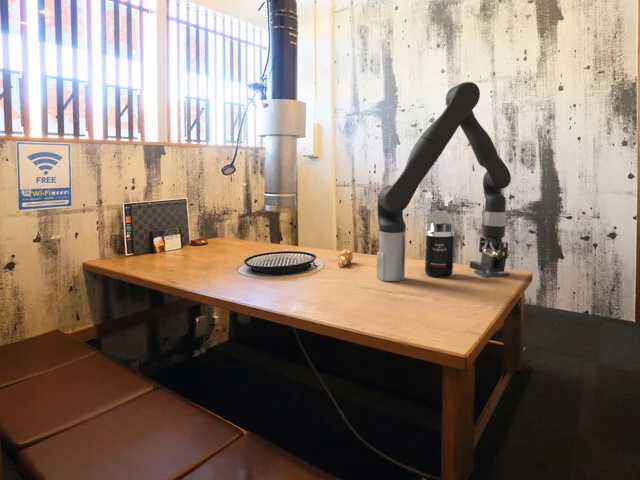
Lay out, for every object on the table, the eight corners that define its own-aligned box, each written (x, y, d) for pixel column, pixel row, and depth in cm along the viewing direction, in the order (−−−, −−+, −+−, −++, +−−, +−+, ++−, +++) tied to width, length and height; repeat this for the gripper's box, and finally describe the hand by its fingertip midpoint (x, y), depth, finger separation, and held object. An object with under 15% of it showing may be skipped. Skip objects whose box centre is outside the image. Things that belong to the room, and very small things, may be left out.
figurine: (330, 265, 180) (335, 255, 191) (341, 275, 180) (345, 264, 192) (345, 252, 177) (349, 242, 188) (355, 262, 177) (358, 252, 188)
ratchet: (484, 277, 161) (485, 261, 161) (461, 267, 177) (461, 252, 176) (509, 275, 164) (510, 259, 163) (483, 266, 180) (484, 251, 179)
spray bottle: (454, 278, 160) (457, 209, 156) (424, 277, 162) (426, 208, 158) (451, 272, 170) (454, 206, 166) (423, 271, 172) (425, 206, 168)
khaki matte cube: (489, 272, 162) (492, 254, 160) (480, 266, 168) (482, 249, 166) (504, 271, 164) (506, 254, 162) (494, 265, 169) (497, 248, 167)
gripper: (474, 222, 169) (472, 263, 172) (496, 226, 155) (494, 272, 158) (492, 221, 171) (489, 262, 173) (515, 225, 157) (513, 270, 159)
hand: (492, 267), depth 165 cm, fingers open, 8 cm apart
